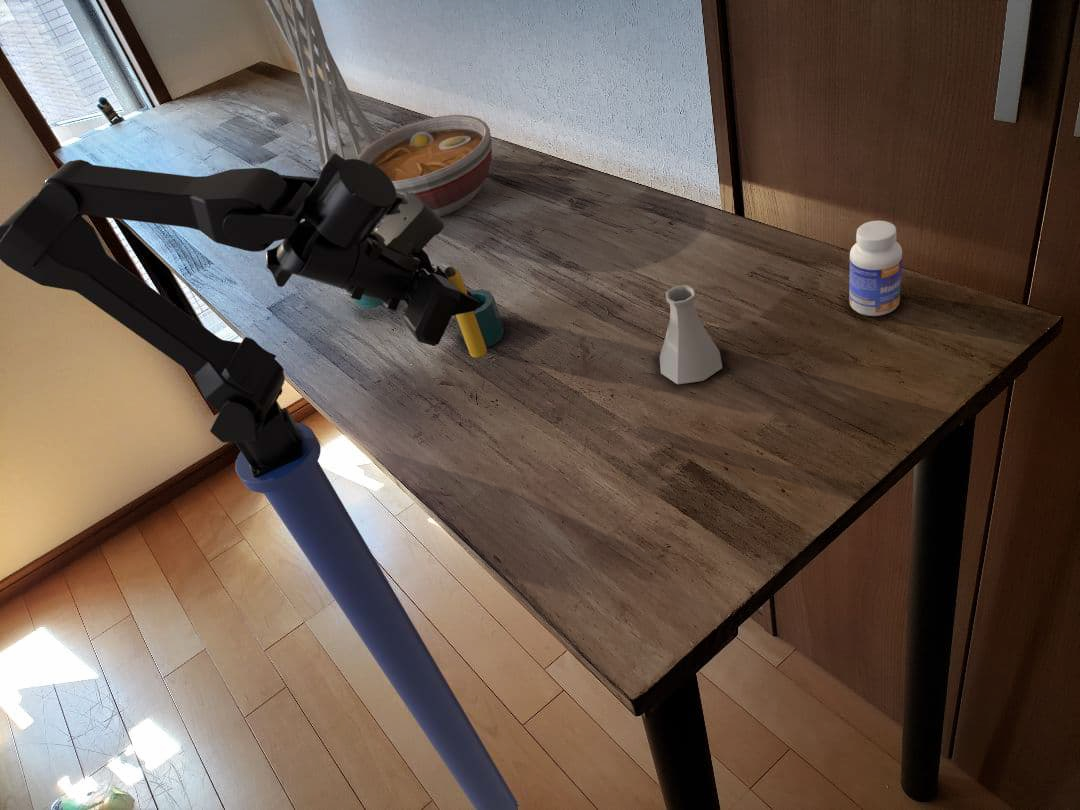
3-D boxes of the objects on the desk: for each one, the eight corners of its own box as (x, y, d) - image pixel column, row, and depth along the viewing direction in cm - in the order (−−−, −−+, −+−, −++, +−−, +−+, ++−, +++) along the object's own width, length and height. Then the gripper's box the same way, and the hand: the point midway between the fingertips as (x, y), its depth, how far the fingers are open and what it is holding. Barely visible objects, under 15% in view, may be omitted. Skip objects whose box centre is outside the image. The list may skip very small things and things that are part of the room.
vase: (393, 136, 167) (324, -53, 144) (377, 168, 157) (300, -30, 135) (331, 148, 170) (254, -36, 148) (311, 180, 161) (226, -12, 138)
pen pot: (472, 354, 107) (459, 320, 104) (458, 334, 111) (446, 300, 108) (509, 337, 108) (498, 303, 104) (495, 317, 112) (484, 284, 108)
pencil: (473, 360, 97) (442, 275, 89) (468, 351, 98) (437, 267, 90) (489, 353, 97) (459, 267, 89) (483, 344, 98) (454, 260, 91)
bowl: (465, 155, 153) (449, 103, 146) (530, 191, 136) (515, 134, 130) (354, 211, 146) (332, 158, 140) (409, 255, 130) (387, 198, 124)
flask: (673, 393, 93) (661, 322, 87) (649, 357, 99) (636, 288, 92) (733, 371, 93) (726, 299, 87) (706, 336, 99) (697, 266, 92)
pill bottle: (886, 322, 94) (890, 248, 87) (840, 310, 97) (841, 238, 91) (907, 295, 96) (912, 221, 90) (862, 285, 99) (863, 213, 93)
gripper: (409, 219, 75) (544, 270, 84) (350, 157, 88) (471, 207, 98) (361, 328, 78) (495, 365, 88) (311, 252, 92) (432, 291, 101)
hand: (473, 301), depth 93 cm, fingers closed on pencil, 2 cm apart
